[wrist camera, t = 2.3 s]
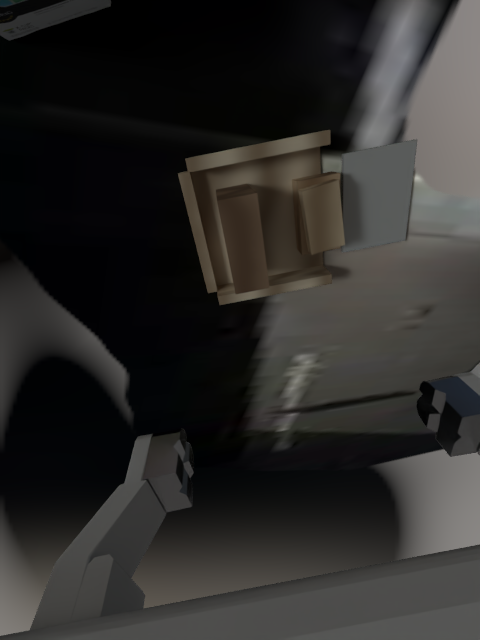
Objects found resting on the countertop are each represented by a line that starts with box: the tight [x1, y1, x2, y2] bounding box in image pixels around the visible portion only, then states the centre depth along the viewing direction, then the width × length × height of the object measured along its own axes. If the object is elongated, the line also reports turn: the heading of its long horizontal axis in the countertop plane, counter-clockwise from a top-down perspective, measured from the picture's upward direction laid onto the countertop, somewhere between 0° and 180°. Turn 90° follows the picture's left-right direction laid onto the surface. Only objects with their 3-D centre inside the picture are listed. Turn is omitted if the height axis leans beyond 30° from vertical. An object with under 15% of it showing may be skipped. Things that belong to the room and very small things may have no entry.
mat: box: [341, 140, 417, 252], centre depth 34 cm, size 8×11×1 cm
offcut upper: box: [298, 179, 345, 255], centre depth 32 cm, size 4×7×2 cm, turn 16°
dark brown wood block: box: [216, 184, 270, 294], centre depth 31 cm, size 4×9×8 cm, turn 10°
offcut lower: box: [292, 172, 340, 255], centre depth 33 cm, size 4×8×2 cm, turn 10°
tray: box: [178, 130, 332, 305], centre depth 33 cm, size 15×16×4 cm
